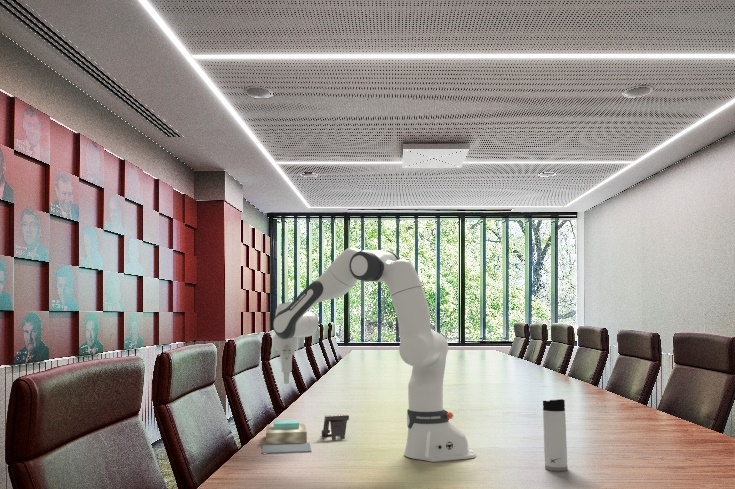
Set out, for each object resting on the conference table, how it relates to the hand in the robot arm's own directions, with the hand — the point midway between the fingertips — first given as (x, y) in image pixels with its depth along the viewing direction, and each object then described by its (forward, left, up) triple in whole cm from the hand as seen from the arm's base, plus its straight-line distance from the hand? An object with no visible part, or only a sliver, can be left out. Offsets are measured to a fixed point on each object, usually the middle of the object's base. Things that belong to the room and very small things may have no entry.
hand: (286, 382), depth 232 cm
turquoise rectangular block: (0, +8, -15) cm, 17 cm away
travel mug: (-77, +64, -19) cm, 102 cm away
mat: (0, +24, -19) cm, 31 cm away
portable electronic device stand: (-18, +8, -20) cm, 28 cm away
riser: (0, +9, -19) cm, 21 cm away
